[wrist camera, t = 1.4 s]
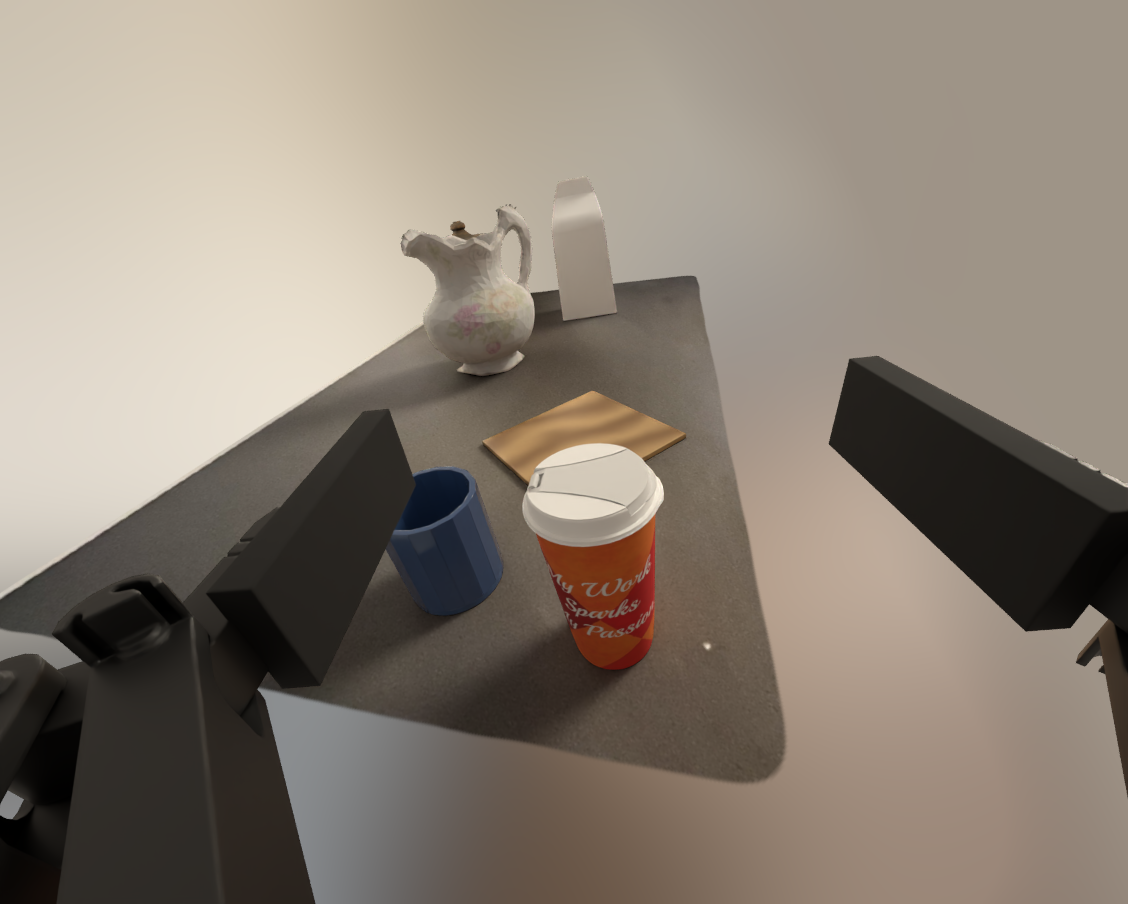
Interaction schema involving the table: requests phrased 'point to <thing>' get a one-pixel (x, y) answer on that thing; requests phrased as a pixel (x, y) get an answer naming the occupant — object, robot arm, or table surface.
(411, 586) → the blue cup
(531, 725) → the table surface
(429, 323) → the ceramic pitcher
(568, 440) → the wooden board
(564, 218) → the milk
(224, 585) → the robot arm
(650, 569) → the paper cup
